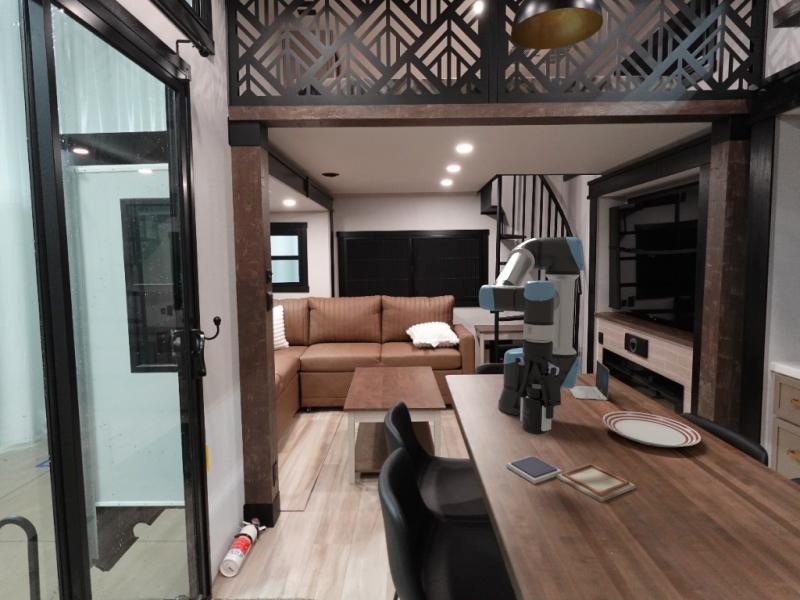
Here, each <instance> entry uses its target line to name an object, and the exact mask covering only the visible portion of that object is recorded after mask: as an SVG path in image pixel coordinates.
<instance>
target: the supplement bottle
mask: <svg viewBox="0 0 800 600" xmlns="http://www.w3.org/2000/svg"><path fill="white" fill-rule="evenodd" d="M527 393H528V394H527V395H525V396H524V397H523V406H522V421H521V428H522V431H524V432H525V433H528V434H530V435H534V436H535V435H538V436H541V435H542V436H543V435H545V434H548V432H549V430H547V431H542V430H541V426H542V406H543V405H545V403H544V399H543V394H542V390H541V386H540V385H538V384H530V385H528V386H527Z"/></svg>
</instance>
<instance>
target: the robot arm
mask: <svg viewBox="0 0 800 600" xmlns="http://www.w3.org/2000/svg"><path fill="white" fill-rule="evenodd" d="M584 252H585V251H584V245H583V241H582V239H580V238H579V237H575V236H561V237H560V236H559V237H558V236H557V237H551V236H550V237H534V238H530V239H527V240H525V241H522V242H521V243H519V244H518V245H516V246H515V247H514V248H512V249H511V251H510V252H509V253H508V255H507V258H506V259H507V260H506V263H505V266H504V267H503V268H502V270H501V271H500V273H499V274H498V277H497V278H496V280H495V281H494V283H493V284H484V285H482V286H481V287H480V289H479V293H478V302H479V303H478V304H479V307H480V309H481V310H484V311H486V310H487V311H491V312H494V311H496V312H497V311H499V312H516V313H517V312H518V313H523V328H522V329H523V338H524V339H523V340H522V347H518V348H511V349H508V350H507V351H505V353H504V358H503V363H502V364H503V388H502V391H501V394H500V398H499V399H498V404H497V408H498V409H499V411H501V413H504V414H508V415H512V416H516V417H517V416H518V417H519V421H520V422H522V406H523V397H524V396H525V395H527V394H528V393H527V386H528V385H530V384H538V385H540V386H541V390H542V394H543V399H544V403H545V405H543V406H542V426H541V430H542V431H547V430H548V431H549V430H550V431H551V430H552V419H554V414H555V413H554V412H555V411H554V410H555V409H554V407H558V406H561V405H562V396H561V395H562V394H561V392H562V391H561V390H562V389H566V390H567V389H568V390H570V389H572V388H574V387H575V386H577V380H578V376H579V371H580V365H581V357H580V356H577V351H576V350H575V348H574V347H573V337H574V335H573V334H574V330H573V329H574V310H575V288H576V287H575V285H576V279H578V278H579V277H580V274H581V272H582V271H584V270H585V267H586V266H585V254H584ZM532 270H533V271H536V270H537V271H544V276H545V277H546V278H547V279H548V280H527V281H526V282H525V284H524V285H522V283H523V282H524V280H525V278H526V276H527V274H528V273H529V272H531V271H532Z"/></svg>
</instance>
